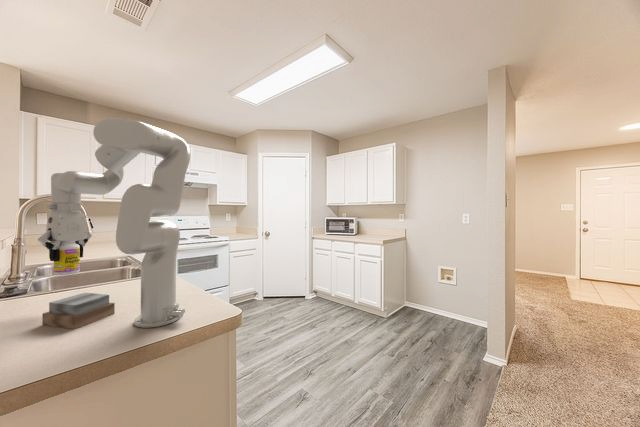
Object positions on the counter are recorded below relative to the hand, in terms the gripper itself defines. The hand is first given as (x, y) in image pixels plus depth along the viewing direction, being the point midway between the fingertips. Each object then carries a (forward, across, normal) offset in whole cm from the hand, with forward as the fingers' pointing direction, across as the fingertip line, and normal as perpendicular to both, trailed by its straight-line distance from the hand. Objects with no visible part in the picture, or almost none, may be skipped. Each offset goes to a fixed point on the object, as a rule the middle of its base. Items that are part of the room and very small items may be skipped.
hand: (67, 258), depth 93 cm
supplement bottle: (+5, 0, 0) cm, 5 cm away
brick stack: (+18, -7, -15) cm, 24 cm away
